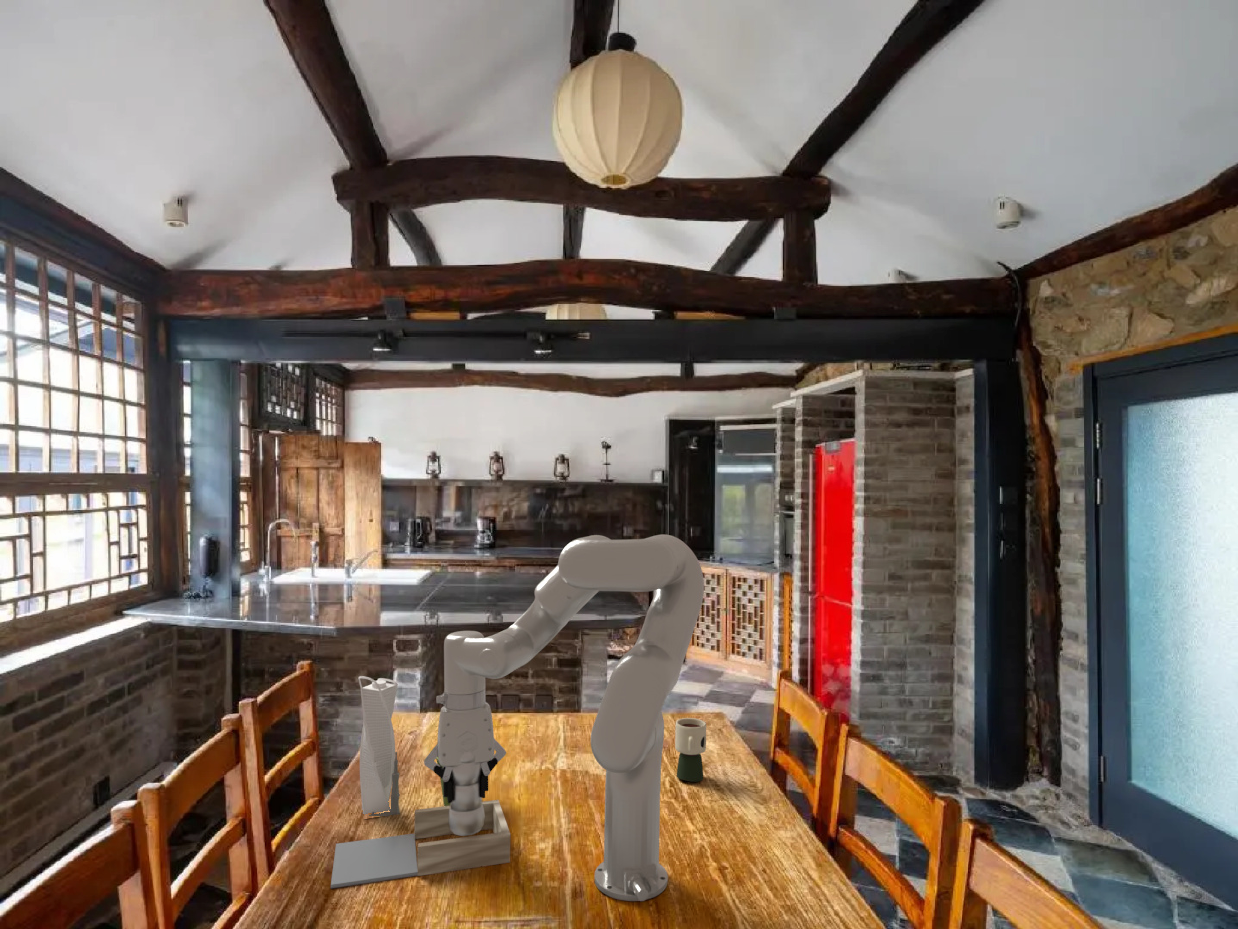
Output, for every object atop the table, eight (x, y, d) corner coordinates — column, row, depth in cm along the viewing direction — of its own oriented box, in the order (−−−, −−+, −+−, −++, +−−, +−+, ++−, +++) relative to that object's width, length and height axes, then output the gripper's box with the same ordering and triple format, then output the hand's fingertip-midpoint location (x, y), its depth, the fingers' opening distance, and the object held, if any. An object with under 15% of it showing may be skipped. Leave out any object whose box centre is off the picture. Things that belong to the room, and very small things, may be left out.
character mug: (706, 790, 160) (707, 731, 161) (674, 788, 161) (675, 730, 161) (704, 770, 171) (705, 715, 172) (674, 769, 172) (675, 714, 172)
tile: (417, 875, 124) (417, 872, 124) (330, 888, 120) (330, 885, 120) (414, 836, 137) (414, 833, 137) (336, 847, 133) (336, 843, 133)
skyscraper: (356, 822, 143) (359, 681, 144) (353, 805, 150) (357, 671, 151) (399, 815, 146) (403, 678, 147) (395, 799, 154) (398, 668, 154)
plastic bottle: (476, 842, 129) (475, 730, 130) (441, 839, 130) (441, 728, 131) (490, 825, 135) (489, 718, 136) (456, 822, 137) (456, 717, 137)
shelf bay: (509, 862, 129) (510, 834, 129) (417, 876, 124) (418, 847, 124) (497, 825, 143) (498, 799, 143) (414, 836, 138) (414, 810, 138)
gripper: (418, 710, 127) (419, 813, 127) (514, 700, 133) (515, 799, 132) (416, 698, 135) (417, 796, 134) (507, 689, 140) (508, 783, 139)
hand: (466, 796), depth 133 cm, fingers closed on plastic bottle, 5 cm apart
